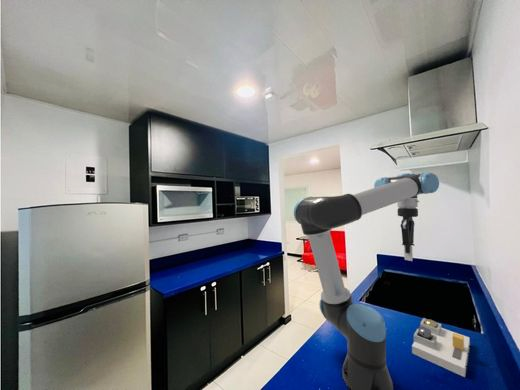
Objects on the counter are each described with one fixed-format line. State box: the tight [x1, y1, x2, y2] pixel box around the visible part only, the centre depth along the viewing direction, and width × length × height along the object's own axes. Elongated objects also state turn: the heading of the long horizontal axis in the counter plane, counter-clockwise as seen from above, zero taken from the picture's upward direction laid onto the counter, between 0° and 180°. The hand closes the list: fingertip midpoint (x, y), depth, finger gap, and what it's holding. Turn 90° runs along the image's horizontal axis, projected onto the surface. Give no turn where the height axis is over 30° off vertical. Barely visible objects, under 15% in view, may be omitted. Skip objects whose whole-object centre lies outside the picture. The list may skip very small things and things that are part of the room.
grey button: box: [418, 326, 431, 340], centre depth 85 cm, size 4×4×3 cm
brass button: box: [425, 318, 438, 328], centre depth 93 cm, size 4×4×3 cm
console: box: [411, 317, 471, 378], centre depth 85 cm, size 24×15×6 cm, turn 132°
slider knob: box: [452, 332, 465, 350], centre depth 81 cm, size 3×3×4 cm
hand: (408, 260), depth 93 cm, fingers closed
